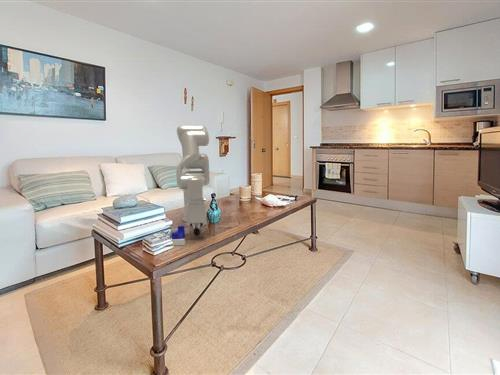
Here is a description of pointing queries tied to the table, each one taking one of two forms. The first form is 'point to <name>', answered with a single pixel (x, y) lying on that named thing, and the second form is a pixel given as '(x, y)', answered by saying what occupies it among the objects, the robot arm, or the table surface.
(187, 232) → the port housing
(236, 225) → the table surface
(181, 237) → the cable clip
